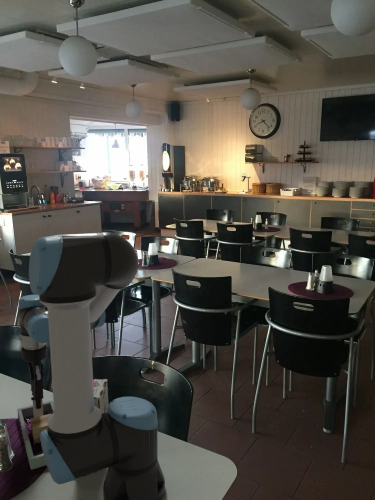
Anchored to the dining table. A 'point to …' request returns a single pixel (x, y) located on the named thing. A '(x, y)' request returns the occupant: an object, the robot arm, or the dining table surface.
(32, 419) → the oak block
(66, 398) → the robot arm
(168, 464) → the dining table surface
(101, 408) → the candy bar box
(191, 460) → the dining table surface
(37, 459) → the channel
